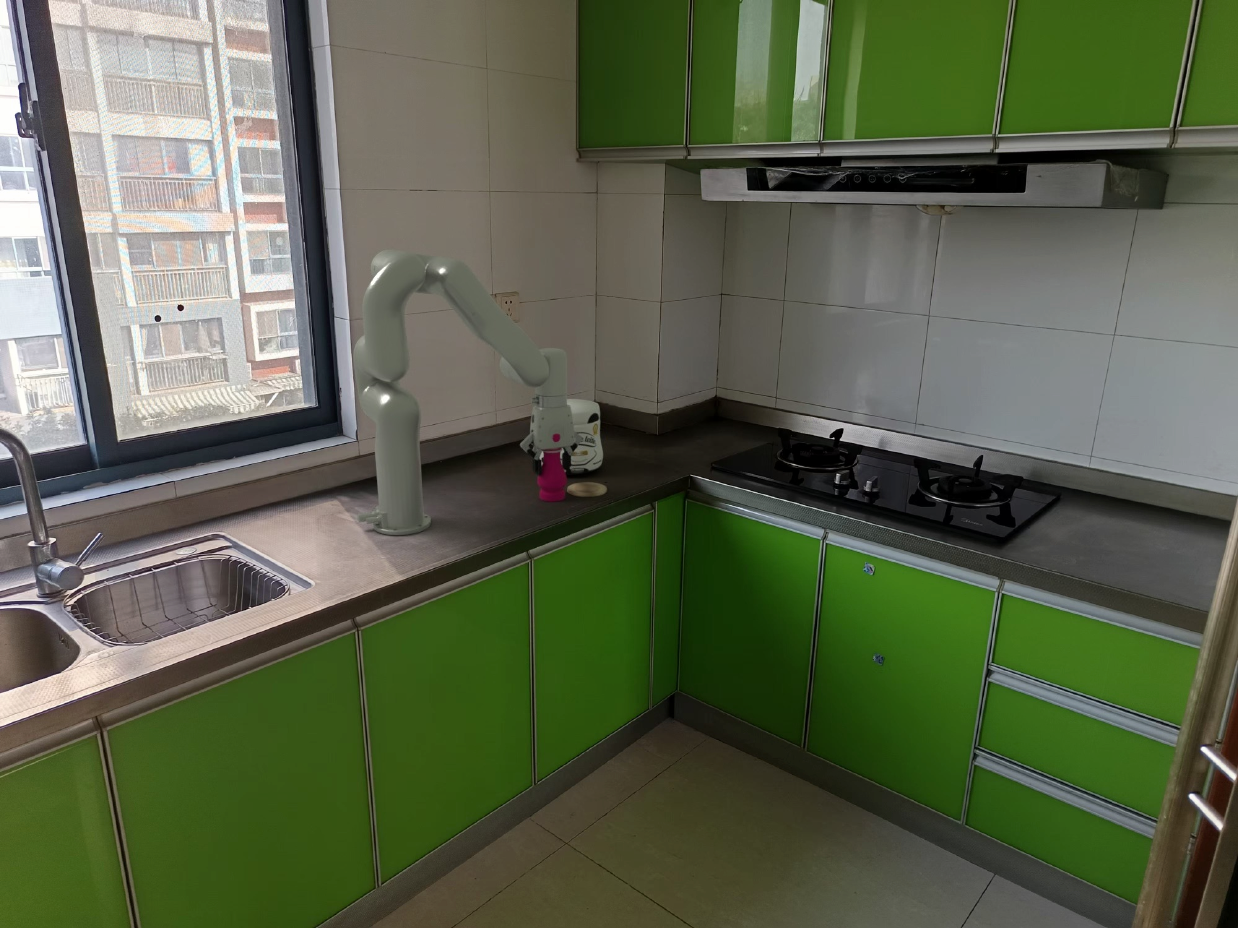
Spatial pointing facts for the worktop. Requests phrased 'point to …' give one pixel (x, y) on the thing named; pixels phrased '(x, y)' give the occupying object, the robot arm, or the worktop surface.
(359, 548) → the worktop surface
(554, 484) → the pepper mill
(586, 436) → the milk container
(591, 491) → the plate
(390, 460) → the robot arm
